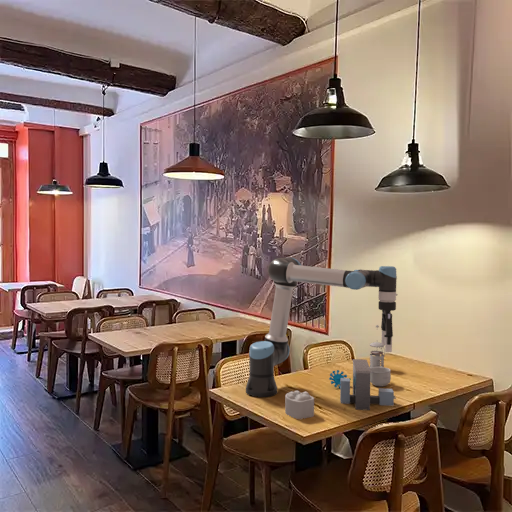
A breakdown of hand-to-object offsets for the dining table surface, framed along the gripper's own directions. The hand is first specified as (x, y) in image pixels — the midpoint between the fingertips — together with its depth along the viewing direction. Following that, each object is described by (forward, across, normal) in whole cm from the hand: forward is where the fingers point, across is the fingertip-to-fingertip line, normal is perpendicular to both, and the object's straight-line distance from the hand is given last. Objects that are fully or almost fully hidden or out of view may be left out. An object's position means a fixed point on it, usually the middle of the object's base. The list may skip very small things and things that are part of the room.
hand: (386, 348), depth 220 cm
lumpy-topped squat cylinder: (+25, -18, +38) cm, 49 cm away
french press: (+25, +59, -3) cm, 64 cm away
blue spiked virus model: (+25, +22, +19) cm, 39 cm away
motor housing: (+25, -1, +11) cm, 27 cm away
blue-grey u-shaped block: (+25, -1, +8) cm, 26 cm away
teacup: (+25, +29, -1) cm, 38 cm away
